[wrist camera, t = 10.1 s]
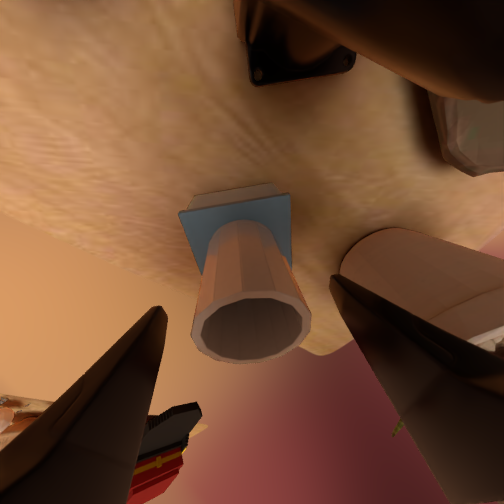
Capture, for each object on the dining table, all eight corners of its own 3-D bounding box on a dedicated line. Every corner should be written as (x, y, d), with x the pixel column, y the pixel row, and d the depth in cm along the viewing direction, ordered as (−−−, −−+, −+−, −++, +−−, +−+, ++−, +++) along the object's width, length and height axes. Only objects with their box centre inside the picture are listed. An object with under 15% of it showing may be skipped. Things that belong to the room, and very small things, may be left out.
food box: (275, 179, 15) (290, 194, 11) (279, 250, 19) (292, 279, 15) (190, 193, 15) (177, 213, 11) (212, 261, 19) (208, 293, 15)
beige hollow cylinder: (275, 212, 12) (314, 278, 6) (279, 272, 14) (309, 354, 9) (198, 225, 12) (171, 303, 6) (217, 283, 14) (210, 372, 9)
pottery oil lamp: (3, 436, 35) (-57, 485, 28) (40, 389, 35) (-10, 427, 28) (42, 460, 36) (-7, 513, 29) (79, 414, 36) (39, 457, 29)
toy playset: (87, 488, 32) (73, 604, 24) (146, 407, 31) (152, 503, 22) (164, 458, 42) (173, 533, 34) (212, 394, 40) (234, 458, 32)
